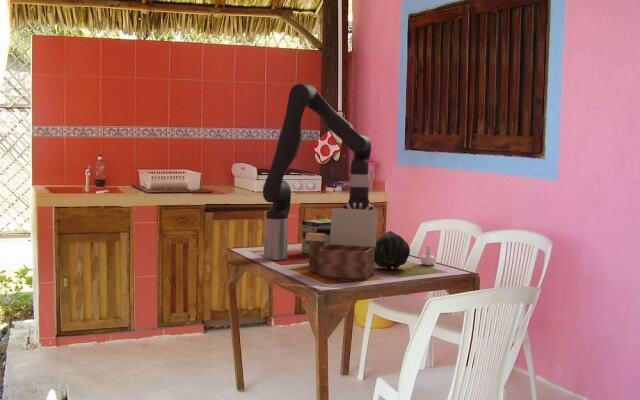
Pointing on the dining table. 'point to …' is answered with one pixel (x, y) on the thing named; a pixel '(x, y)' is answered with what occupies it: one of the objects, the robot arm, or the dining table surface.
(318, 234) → the latch bolt
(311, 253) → the box
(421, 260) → the garlic bulb
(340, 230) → the lid
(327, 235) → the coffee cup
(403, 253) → the squash
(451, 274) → the dining table surface
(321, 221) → the protein box
